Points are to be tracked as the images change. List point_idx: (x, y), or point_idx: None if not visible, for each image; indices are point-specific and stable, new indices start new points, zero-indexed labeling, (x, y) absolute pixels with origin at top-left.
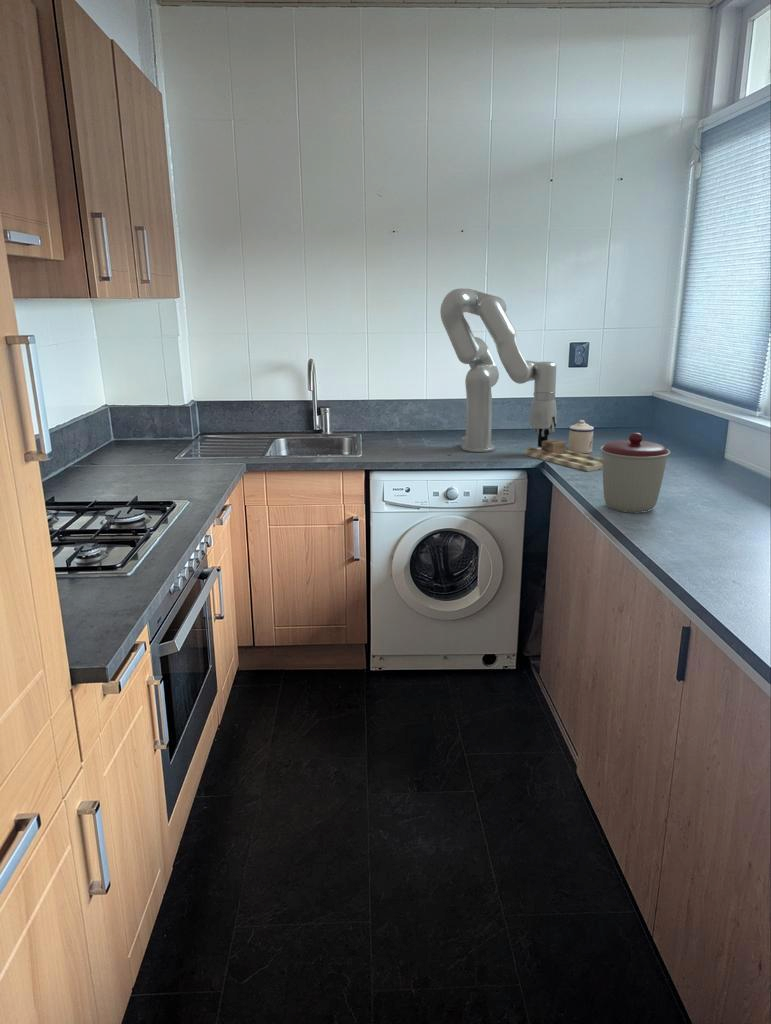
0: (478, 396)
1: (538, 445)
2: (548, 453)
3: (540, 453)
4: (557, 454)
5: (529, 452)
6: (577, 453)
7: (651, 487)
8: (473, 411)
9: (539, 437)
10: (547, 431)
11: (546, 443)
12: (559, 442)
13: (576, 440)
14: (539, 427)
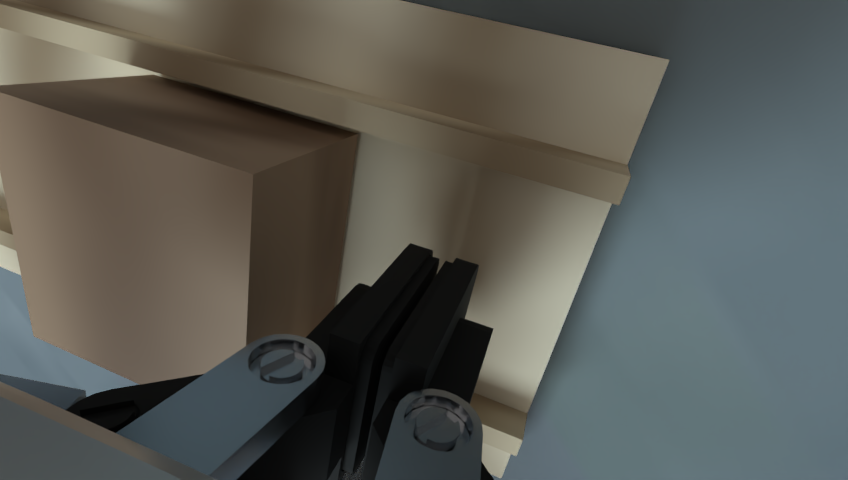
0: None
1: (460, 263)
2: (183, 51)
3: (322, 56)
4: (25, 13)
5: (515, 26)
6: (5, 231)
7: None
8: None
9: (398, 343)
10: (77, 413)
11: (152, 128)
12: (33, 251)
13: None
14: (85, 446)
